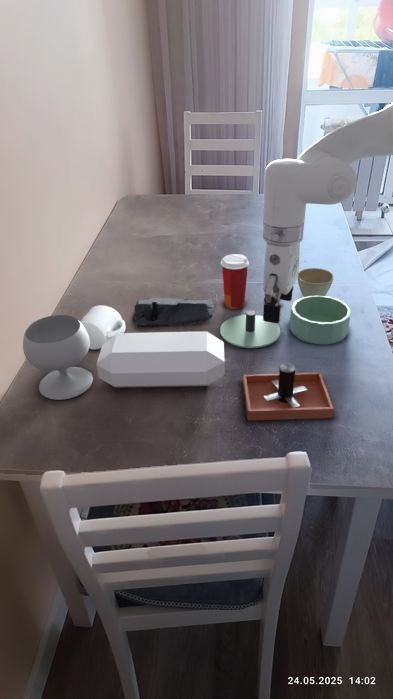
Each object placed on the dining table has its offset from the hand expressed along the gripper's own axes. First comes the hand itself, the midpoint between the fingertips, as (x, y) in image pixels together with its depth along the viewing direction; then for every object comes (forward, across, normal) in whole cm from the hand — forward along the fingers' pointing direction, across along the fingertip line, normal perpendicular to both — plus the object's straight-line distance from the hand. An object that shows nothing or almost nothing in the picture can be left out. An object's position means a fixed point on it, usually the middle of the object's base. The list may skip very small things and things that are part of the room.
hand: (277, 310), depth 100 cm
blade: (+17, -7, -4) cm, 19 cm away
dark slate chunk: (+18, +18, +34) cm, 42 cm away
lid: (+17, +16, +11) cm, 26 cm away
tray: (+18, -7, -5) cm, 19 cm away
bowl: (+18, +24, -5) cm, 30 cm away
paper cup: (+18, +30, +20) cm, 40 cm away
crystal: (+18, -8, +24) cm, 31 cm away
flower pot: (+18, +41, 0) cm, 44 cm away
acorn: (+18, +33, +8) cm, 38 cm away
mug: (+18, 0, +45) cm, 49 cm away
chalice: (+18, -19, +44) cm, 51 cm away
